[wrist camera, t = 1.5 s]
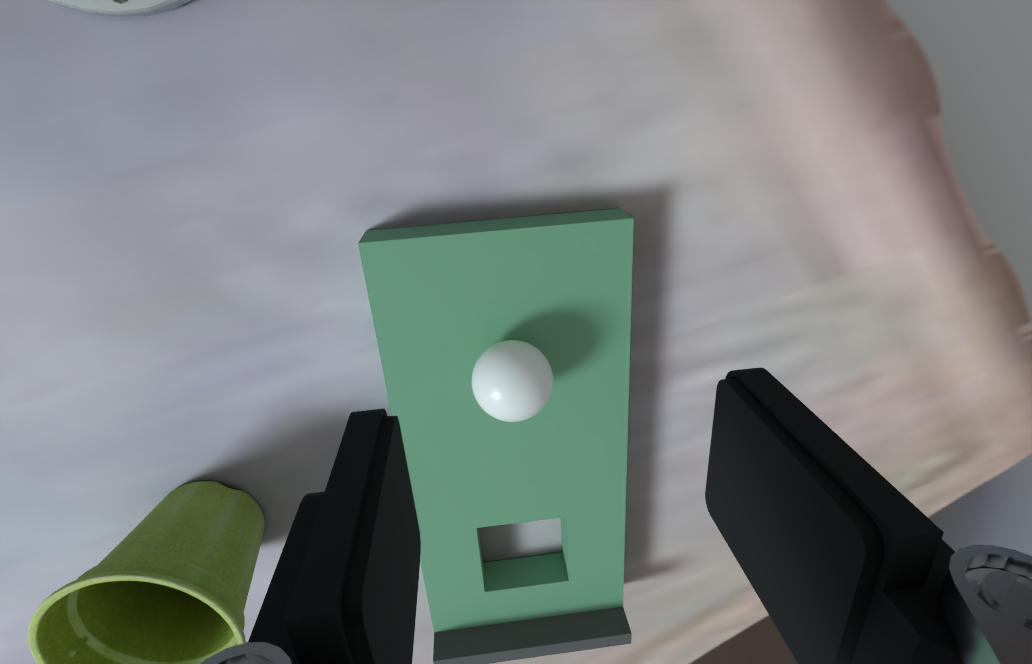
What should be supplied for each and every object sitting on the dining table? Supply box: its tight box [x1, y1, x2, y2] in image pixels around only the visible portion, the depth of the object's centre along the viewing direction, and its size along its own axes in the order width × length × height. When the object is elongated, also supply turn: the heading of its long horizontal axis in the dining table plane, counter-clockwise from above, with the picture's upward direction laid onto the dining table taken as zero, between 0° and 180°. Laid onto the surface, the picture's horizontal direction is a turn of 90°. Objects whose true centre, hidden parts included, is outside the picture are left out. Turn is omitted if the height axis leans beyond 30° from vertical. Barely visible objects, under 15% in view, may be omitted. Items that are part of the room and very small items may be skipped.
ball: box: [472, 340, 553, 422], centre depth 26 cm, size 4×4×4 cm
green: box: [358, 208, 634, 664], centre depth 31 cm, size 28×13×4 cm, turn 4°
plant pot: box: [28, 481, 265, 664], centre depth 29 cm, size 9×9×9 cm
